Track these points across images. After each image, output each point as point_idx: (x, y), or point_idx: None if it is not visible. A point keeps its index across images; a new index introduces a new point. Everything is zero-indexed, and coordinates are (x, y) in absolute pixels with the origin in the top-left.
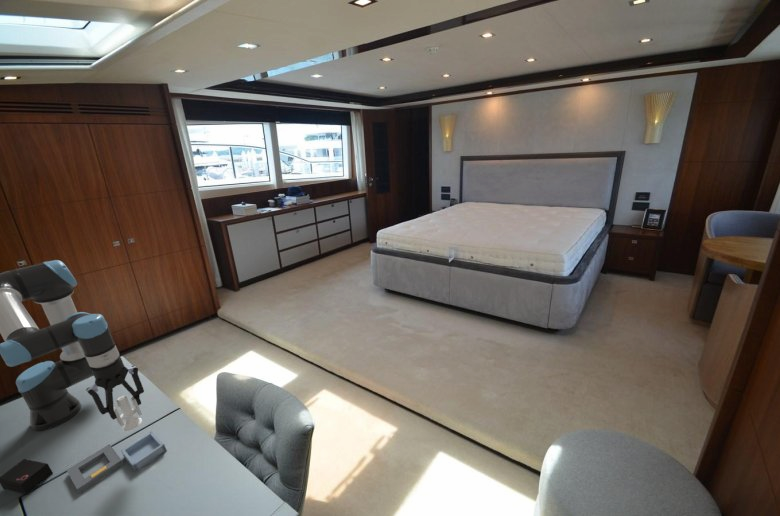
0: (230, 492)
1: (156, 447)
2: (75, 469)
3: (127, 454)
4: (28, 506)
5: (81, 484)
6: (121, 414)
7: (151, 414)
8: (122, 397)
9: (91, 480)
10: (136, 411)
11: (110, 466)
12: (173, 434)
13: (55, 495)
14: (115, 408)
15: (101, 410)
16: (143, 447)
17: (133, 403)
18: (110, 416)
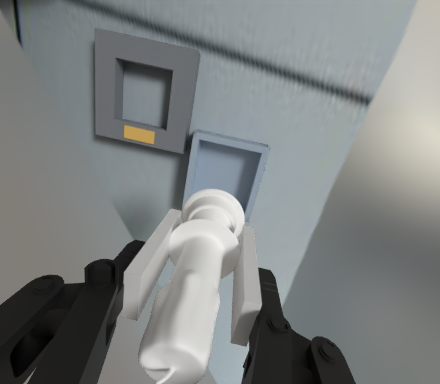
0: (227, 360)
1: (244, 188)
2: (109, 55)
3: (193, 162)
4: (27, 45)
5: (105, 130)
6: (185, 226)
7: (340, 29)
8: (181, 369)
9: (122, 139)
10: (240, 242)
11: (160, 145)
12: (289, 186)
13: (71, 78)
14: (136, 302)
15: (16, 355)
16: (232, 156)
17: (236, 294)
18: (124, 248)
